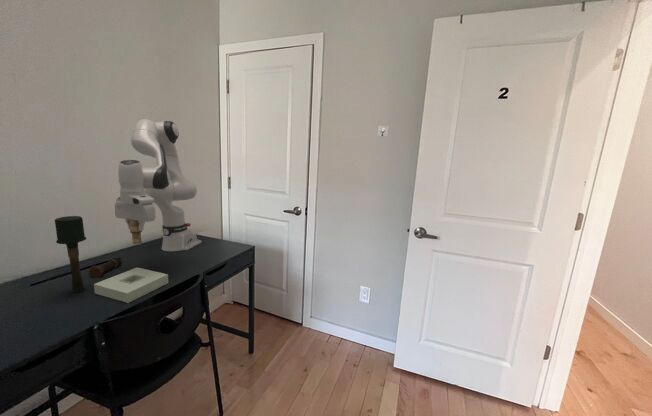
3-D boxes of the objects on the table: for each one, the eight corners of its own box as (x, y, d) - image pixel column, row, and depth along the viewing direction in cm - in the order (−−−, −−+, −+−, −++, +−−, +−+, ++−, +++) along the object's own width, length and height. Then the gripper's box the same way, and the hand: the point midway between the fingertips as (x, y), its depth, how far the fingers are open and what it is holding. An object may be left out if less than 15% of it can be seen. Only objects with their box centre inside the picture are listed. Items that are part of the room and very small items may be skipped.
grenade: (84, 283, 117) (75, 214, 112) (97, 288, 114) (88, 217, 108) (59, 292, 110) (48, 218, 104) (71, 298, 107) (61, 221, 101)
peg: (138, 241, 126) (136, 217, 124) (145, 242, 125) (143, 218, 123) (129, 243, 122) (126, 219, 120) (136, 244, 121) (133, 220, 119)
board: (138, 275, 127) (137, 267, 126) (168, 283, 122) (167, 274, 121) (94, 293, 110) (93, 283, 110) (128, 303, 105) (127, 293, 104)
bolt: (121, 268, 139) (97, 280, 124) (112, 262, 138) (86, 274, 123) (126, 258, 138) (102, 270, 123) (117, 253, 137) (92, 264, 123)
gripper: (108, 197, 120) (112, 228, 123) (143, 201, 114) (146, 233, 116) (123, 195, 126) (126, 225, 128) (157, 199, 120) (159, 230, 122)
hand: (136, 229), depth 122 cm, fingers closed on peg, 4 cm apart
